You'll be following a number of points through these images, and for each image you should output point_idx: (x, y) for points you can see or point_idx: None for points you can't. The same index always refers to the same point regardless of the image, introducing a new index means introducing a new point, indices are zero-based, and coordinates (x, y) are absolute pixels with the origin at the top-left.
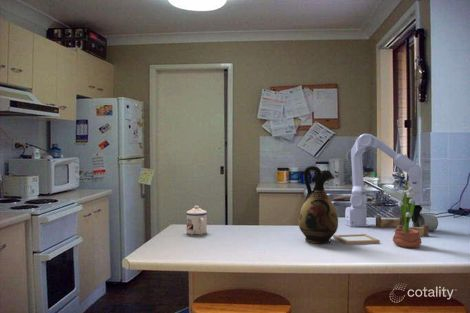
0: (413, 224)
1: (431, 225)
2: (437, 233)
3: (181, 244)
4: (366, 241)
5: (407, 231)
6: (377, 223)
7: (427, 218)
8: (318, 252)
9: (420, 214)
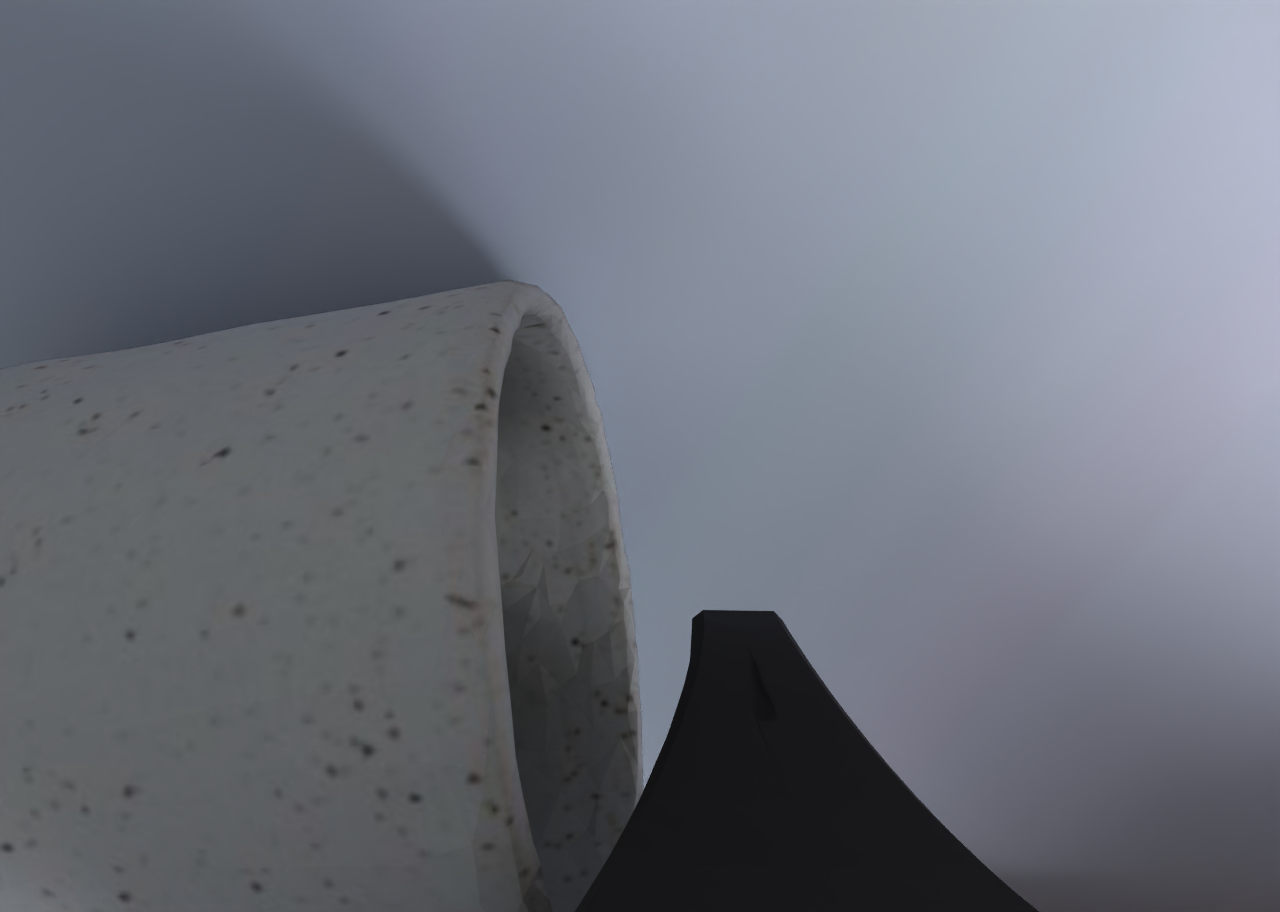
0: (638, 743)
1: (191, 337)
2: (141, 95)
3: None
4: None
5: None
6: None
7: (259, 510)
8: None
9: (516, 840)
